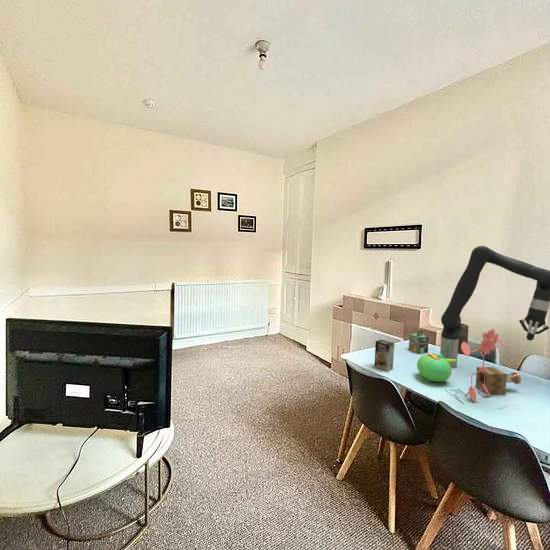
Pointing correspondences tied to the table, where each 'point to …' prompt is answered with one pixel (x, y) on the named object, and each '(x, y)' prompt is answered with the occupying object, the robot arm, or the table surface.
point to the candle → (462, 336)
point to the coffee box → (384, 355)
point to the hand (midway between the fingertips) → (529, 340)
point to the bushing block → (492, 381)
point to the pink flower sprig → (487, 346)
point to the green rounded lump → (435, 367)
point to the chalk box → (418, 343)
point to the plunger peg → (513, 378)
